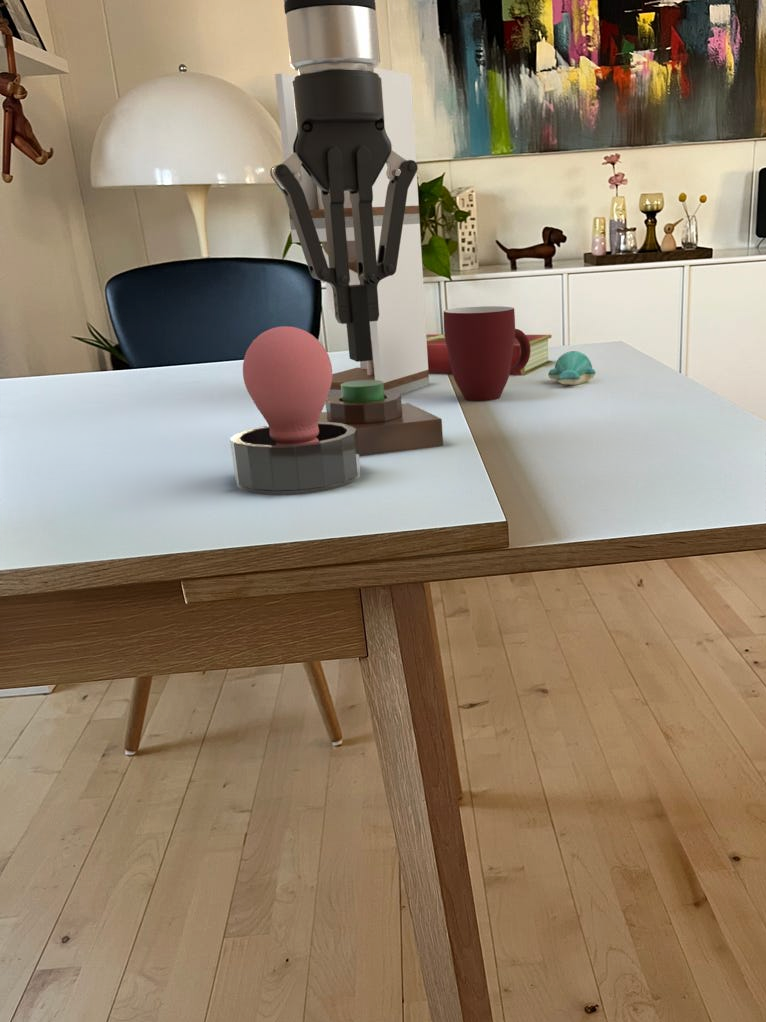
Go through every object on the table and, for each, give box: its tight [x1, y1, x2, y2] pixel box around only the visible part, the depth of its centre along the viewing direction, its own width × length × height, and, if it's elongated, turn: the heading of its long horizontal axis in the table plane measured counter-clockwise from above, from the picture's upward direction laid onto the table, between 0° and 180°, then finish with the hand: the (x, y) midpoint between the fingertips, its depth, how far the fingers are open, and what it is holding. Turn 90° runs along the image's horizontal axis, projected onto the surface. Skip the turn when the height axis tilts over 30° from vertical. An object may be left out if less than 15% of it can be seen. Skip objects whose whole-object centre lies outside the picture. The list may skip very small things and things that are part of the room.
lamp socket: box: [229, 422, 361, 496], centre depth 87 cm, size 10×10×4 cm
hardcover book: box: [426, 333, 553, 376], centre depth 144 cm, size 12×21×4 cm, turn 69°
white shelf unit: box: [274, 67, 430, 399], centre depth 123 cm, size 11×11×35 cm
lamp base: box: [318, 392, 444, 457], centre depth 99 cm, size 12×10×4 cm
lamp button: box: [341, 380, 385, 402], centre depth 98 cm, size 4×4×2 cm
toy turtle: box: [547, 350, 597, 386], centre depth 128 cm, size 6×7×4 cm
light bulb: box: [242, 325, 333, 445], centre depth 85 cm, size 7×7×12 cm
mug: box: [443, 305, 530, 402], centre depth 120 cm, size 10×8×10 cm
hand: (361, 359), depth 97 cm, fingers closed
